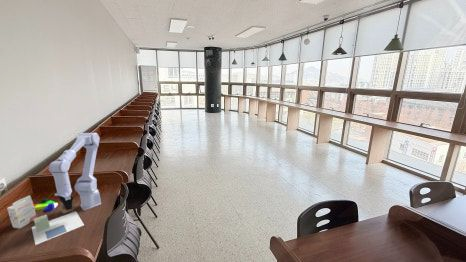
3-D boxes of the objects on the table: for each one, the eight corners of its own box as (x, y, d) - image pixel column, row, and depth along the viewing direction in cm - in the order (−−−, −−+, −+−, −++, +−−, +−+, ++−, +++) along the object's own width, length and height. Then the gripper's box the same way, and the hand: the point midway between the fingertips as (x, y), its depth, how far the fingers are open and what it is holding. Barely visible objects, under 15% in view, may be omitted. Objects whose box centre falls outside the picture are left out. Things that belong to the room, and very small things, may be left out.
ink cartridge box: (30, 218, 120) (24, 193, 117) (37, 219, 119) (31, 194, 116) (12, 228, 112) (4, 202, 109) (19, 229, 111) (12, 203, 108)
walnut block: (72, 205, 118) (71, 197, 117) (75, 209, 115) (73, 200, 114) (61, 209, 115) (59, 201, 114) (63, 213, 112) (61, 204, 110)
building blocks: (62, 200, 139) (61, 194, 138) (53, 211, 127) (51, 204, 126) (33, 204, 134) (31, 198, 133) (21, 216, 122) (19, 210, 121)
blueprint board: (76, 211, 125) (76, 211, 125) (84, 225, 113) (84, 225, 113) (31, 228, 112) (31, 227, 112) (35, 245, 100) (35, 245, 100)
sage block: (48, 222, 115) (46, 214, 114) (49, 227, 112) (47, 218, 110) (35, 227, 112) (33, 218, 110) (37, 232, 108) (34, 223, 107)
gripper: (50, 181, 114) (55, 205, 117) (55, 191, 104) (61, 216, 107) (67, 177, 119) (71, 199, 122) (73, 185, 109) (78, 210, 112)
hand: (67, 207), depth 115 cm, fingers closed on walnut block, 5 cm apart
